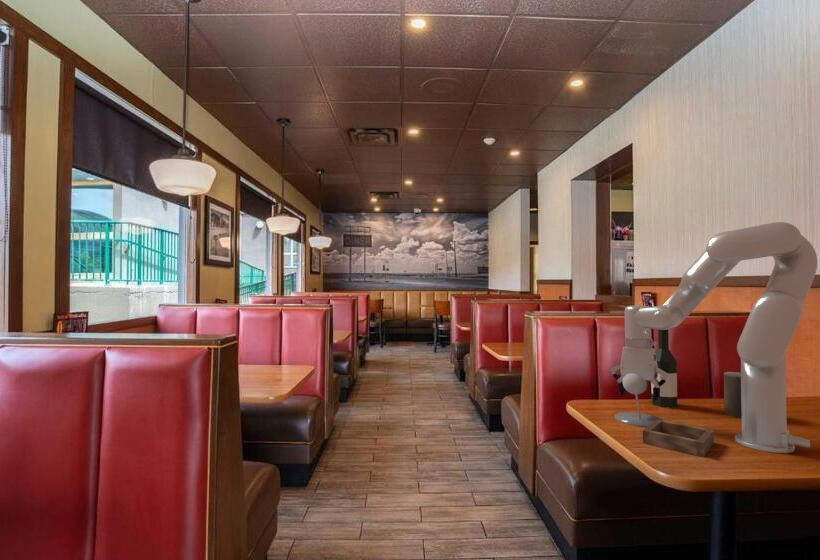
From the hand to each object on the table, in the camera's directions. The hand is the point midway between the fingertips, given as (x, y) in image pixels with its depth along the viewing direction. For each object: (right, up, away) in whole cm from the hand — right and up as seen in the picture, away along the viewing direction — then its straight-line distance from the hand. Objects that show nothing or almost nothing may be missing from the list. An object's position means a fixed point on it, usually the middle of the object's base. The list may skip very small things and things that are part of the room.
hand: (639, 397), depth 138 cm
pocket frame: (0, -7, -20) cm, 21 cm away
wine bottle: (+19, -8, +18) cm, 27 cm away
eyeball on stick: (0, -7, 0) cm, 7 cm away
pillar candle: (+38, -8, +6) cm, 39 cm away
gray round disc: (0, -8, 0) cm, 8 cm away
